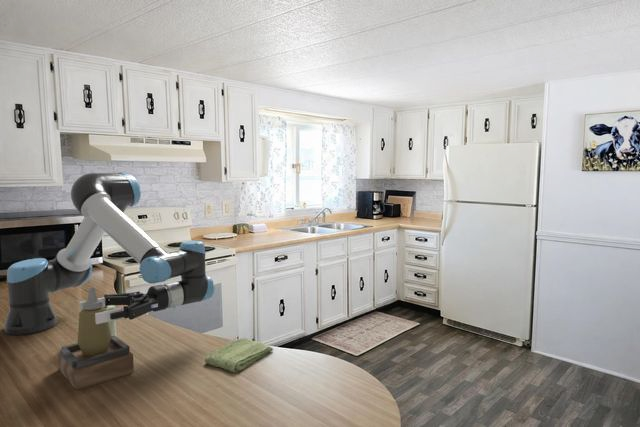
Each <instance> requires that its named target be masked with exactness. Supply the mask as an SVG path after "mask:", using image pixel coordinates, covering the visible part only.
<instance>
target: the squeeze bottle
mask: <svg viewBox="0 0 640 427" xmlns="http://www.w3.org/2000/svg"><path fill="white" fill-rule="evenodd" d="M98 298H99V297H98V295H97V292H96V288H95V287H89V290H88V295H87V299H86V300H84V301H85V302H83V310H82V311H81V312H80V311H79V315H78V328H77V329H78V330H77V333H78V334H77V343H78V345H79V347H80V349H81V351H82V353H83V355H84V356H86V357H92V356H96V355H100V354H103V353H106V352H107V350H108V347H109V343H110V340H111V333H110V327H109V322H105V323H100V324H96V321H95V313H99V312H104V311H107V309H106V308H104V307H102V306H103V302H102V300H100V299H98Z"/></svg>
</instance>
